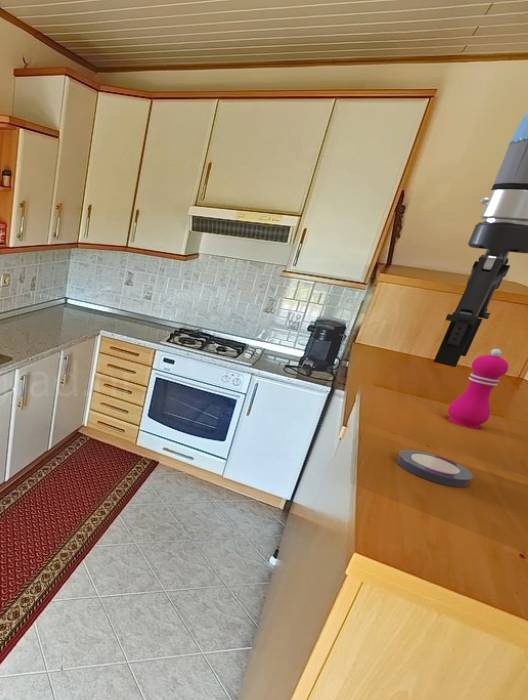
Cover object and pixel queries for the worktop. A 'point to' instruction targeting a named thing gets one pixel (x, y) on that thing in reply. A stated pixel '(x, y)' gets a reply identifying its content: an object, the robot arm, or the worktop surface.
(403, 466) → the plate
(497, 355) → the pepper mill
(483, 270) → the robot arm
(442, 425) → the worktop surface
